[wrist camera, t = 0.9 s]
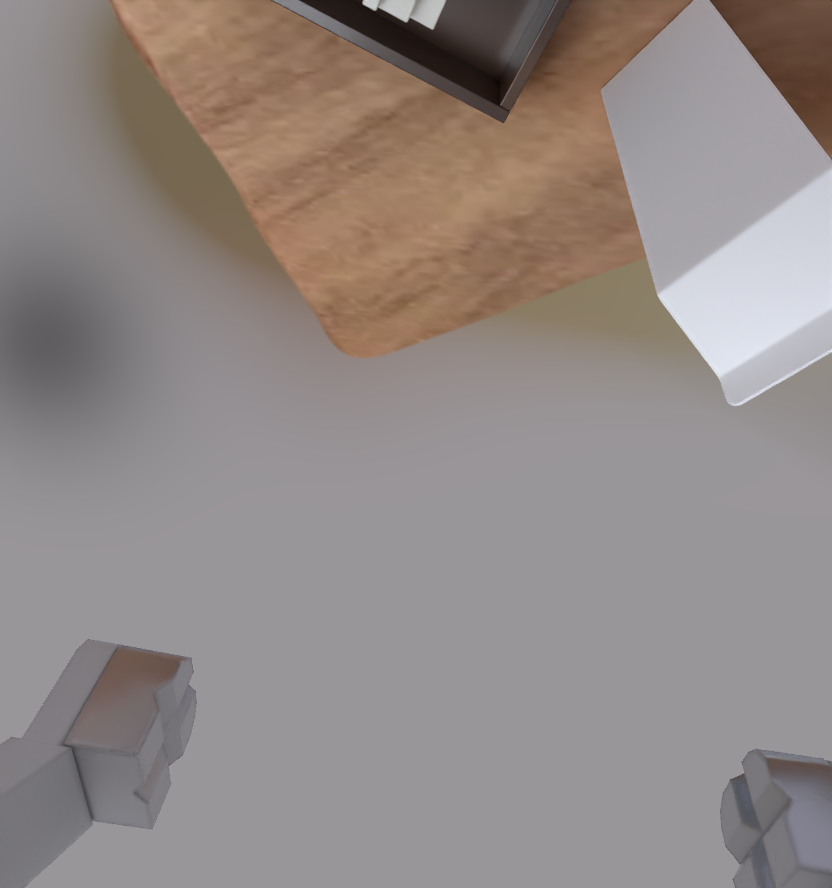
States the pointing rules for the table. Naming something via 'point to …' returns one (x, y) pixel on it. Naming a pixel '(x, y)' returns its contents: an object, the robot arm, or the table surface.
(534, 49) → the box
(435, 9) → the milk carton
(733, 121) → the milk
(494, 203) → the table surface
